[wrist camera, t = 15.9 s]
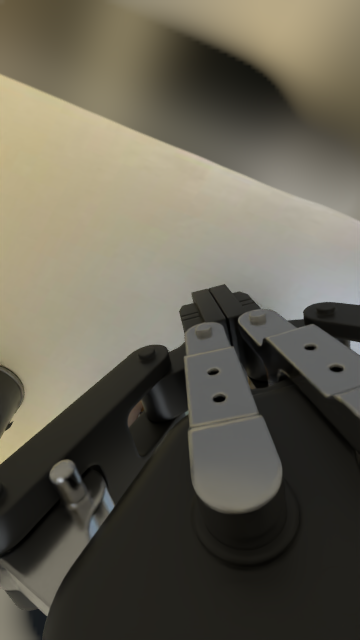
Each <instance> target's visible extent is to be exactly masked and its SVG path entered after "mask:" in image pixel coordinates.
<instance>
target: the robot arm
mask: <svg viewBox="0 0 360 640" xmlns="http://www.w3.org/2000/svg"><path fill="white" fill-rule="evenodd" d="M192 299H193V303H192V304H188V305H184V306H182V308H181V309H180V311H179V312H180V316H181V321H182V325H183V329H184V333H185V342H184V343H183V344H182V345H181V346H180V347H178V348H177V349H175V350H173V351H171V352H168V349H167V348H166V347H165V346H162V345H149V346H145V347H142V348H140V349H138V350H136V351H134V352H133V353H132V354H130V355H129V356H128V357H127V358H126V359H125V360H123V361H122V362H121V363H120V364H119V365H117V366H116V367H115V368H114V369H113V370H112V371H110V372H109V373H108V374H107V375H106V376H104V377H103V378H102V379H101V380H100V381H99V382H97V383H96V384H95V385H94V386H93V387H91V388H90V389H89V390H88V391H87V392H86V393H84V394H83V395H82V396H81V397H80V398H78V399H77V400H76V401H75V402H74V403H73V404H71V405H70V406H69V407H68V408H67V409H65V410H64V411H63V412H62V413H61V414H60V415H58V416H57V417H56V418H55V419H54V420H52V421H51V422H50V423H49V424H48V425H47V426H45V427H44V428H43V429H42V430H41V431H39V432H38V433H37V434H36V435H35V436H34V437H32V438H31V439H30V440H29V441H28V442H26V443H25V444H24V445H23V446H22V447H21V448H19V449H18V450H17V451H16V452H15V453H13V454H12V455H11V456H10V457H9V458H8V459H6V460H5V461H4V462H3V463H2V464H0V588H2V589H3V590H5V591H6V593H7V594H8V595H9V596H10V598H11V599H12V600H13V602H14V603H15V604H16V605H17V606H18V607H19V608H20V609H22V610H26V611H29V610H35V609H38V608H39V609H40V610H41V611H42V612H43V613H44V614H45V615H46V616H47V619H46V623H45V627H44V632H43V637H42V640H360V355H359V354H357V353H356V352H354V351H353V350H351V349H350V341H356V342H360V305H353V304H344V303H335V302H323V303H317V304H313V305H311V306H308V307H307V308H306V309H305V310H304V312H303V313H304V319H301V320H289V321H287V320H286V319H284V318H283V317H282V316H280V315H279V314H278V313H277V312H275V311H273V310H268V309H261V308H260V307H259V306H258V305H257V304H256V303H255V302H254V301H253V300H252V299H251V298H250V297H249V295H248V294H245V293H242V292H235V293H232V292H231V291H230V290H229V289H228V288H227V286H226V285H225V284H224V285H220V286H216V287H212V288H209V289H204V290H200V291H196V292H192ZM244 372H246V373H247V377H248V383H249V385H248V383H247V380H246V378H245V375H244ZM249 387H250V388H251V389H250V388H249ZM23 398H24V389H23V386H22V383H21V382H20V380H19V379H18V377H17V376H16V375H15V374H13V373H12V372H11V371H9V370H8V369H6V368H4V367H1V366H0V438H1V436H2V435H3V433H4V431H6V430H7V429H9V428H10V427H11V425H12V423H13V422H11V423H10V421H11V419H12V417H13V416H14V414H15V413H16V411H17V409H18V408H19V407H20V405H21V403H22V401H23ZM140 400H141V401H142V404H143V407H144V411H143V412H142V413H141V415H140V416H139V417H138V418H137V419H136V420H135V421H134V422H133V423H132V424H131V426H130V427H128V417H129V414H130V412H131V410H132V409H133V408H134V407H135V406H136V405H137V404H138V402H139V401H140ZM187 411H188V413H189V414H188V415H186V414H185V412H187ZM9 423H10V424H9Z"/></svg>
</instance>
